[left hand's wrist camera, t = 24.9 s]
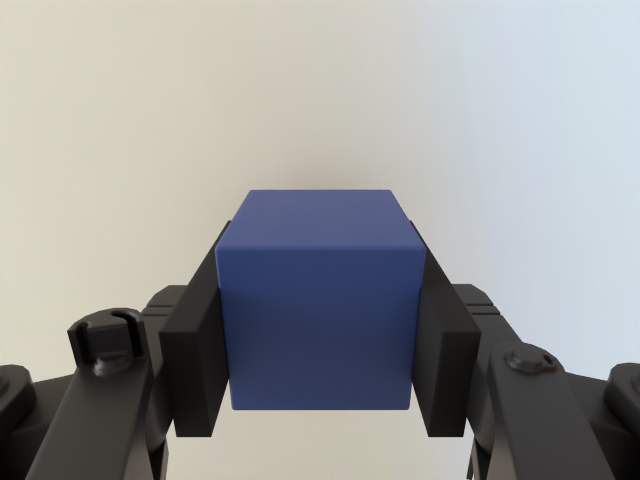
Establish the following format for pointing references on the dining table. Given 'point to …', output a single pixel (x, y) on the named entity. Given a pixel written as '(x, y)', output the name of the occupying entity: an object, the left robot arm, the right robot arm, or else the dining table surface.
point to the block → (320, 300)
